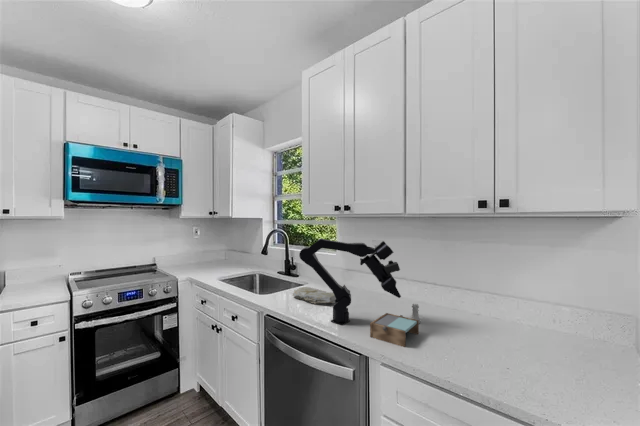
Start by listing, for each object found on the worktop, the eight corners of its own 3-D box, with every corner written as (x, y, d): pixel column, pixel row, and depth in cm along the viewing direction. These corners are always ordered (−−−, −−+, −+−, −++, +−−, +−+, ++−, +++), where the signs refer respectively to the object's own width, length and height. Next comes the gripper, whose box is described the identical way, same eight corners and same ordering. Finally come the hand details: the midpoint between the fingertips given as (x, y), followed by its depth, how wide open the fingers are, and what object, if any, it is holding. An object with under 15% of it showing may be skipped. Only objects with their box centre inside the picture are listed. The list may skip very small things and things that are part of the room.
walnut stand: (369, 337, 114) (369, 322, 114) (387, 325, 126) (387, 311, 126) (403, 347, 105) (403, 331, 105) (419, 333, 117) (419, 319, 118)
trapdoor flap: (374, 327, 114) (374, 322, 114) (387, 318, 124) (387, 314, 124) (405, 335, 107) (405, 330, 107) (416, 325, 116) (416, 321, 116)
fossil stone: (341, 303, 158) (341, 293, 158) (322, 309, 148) (322, 299, 148) (307, 293, 178) (307, 284, 178) (288, 298, 168) (288, 288, 168)
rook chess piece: (422, 322, 130) (422, 304, 130) (418, 325, 126) (418, 306, 126) (412, 319, 133) (412, 302, 133) (408, 322, 129) (408, 304, 129)
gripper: (393, 258, 119) (417, 288, 118) (387, 252, 138) (408, 278, 136) (371, 275, 120) (396, 305, 119) (368, 267, 138) (389, 292, 137)
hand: (398, 294), depth 128 cm, fingers open, 9 cm apart
